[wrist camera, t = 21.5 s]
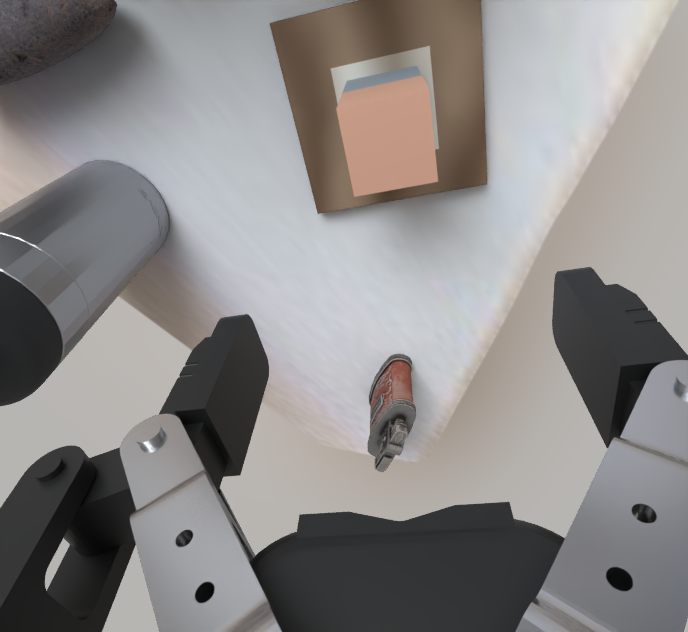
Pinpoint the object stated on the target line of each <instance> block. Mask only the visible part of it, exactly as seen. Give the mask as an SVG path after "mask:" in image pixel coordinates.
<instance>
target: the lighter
mask: <svg viewBox="0 0 688 632" xmlns="http://www.w3.org/2000/svg"><path fill="white" fill-rule="evenodd" d="M411 371H412V361H411V359H410V358H409V357H408V356H406V355H404V354H394V355H391V356H390V357H389V358H388V359H387V360H386V362H385V363H384V364H383V365H382V366H381V368H380V370H379V371H378V373H377V374H376V376H375V379H374V381H373V384H372V386H371V390H370V395H369V404H370V406H371V414H370V436H369V440H368V452H369V453H370V454H371V455H373V456H375V457H376V458H375V469H376V470H377V471H380V472H384V471H385V470H386V469H387V468H388V466H389V465H390V463H391V461H392V460H393V458H394V457H395V455H400V454H401V453H402V450H403V446H404V441H405V439H406V438H407V436H408V434H409V432H410V430H411V428H412V426H413V423H414V420H415V417H416V409H415V406H414V404H413V397H412V384H411Z"/></svg>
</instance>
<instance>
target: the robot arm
mask: <svg viewBox="0 0 688 632" xmlns="http://www.w3.org/2000/svg"><path fill="white" fill-rule="evenodd" d="M168 228H169V219H168V213H167V210H166V207H165V204H164V202H163V200H162V198H161V196H160V195H159V193H158V192H157V190H156V189H155V188H154V187H153V185H152V184H151V183H150V182H149V181H148V180H147V179H145V178H144V177H143V176H142V175H141V174H139V173H138V172H136V171H134V170H133V169H131V168H129V167H127V166H125V165H122V164H120V163H116V162H111V161H93V162H88V163H85V164H83V165H82V166H80V167H78V168H76V169H74V170H73V171H71V172H69V173H67V174H66V175H64V176H62V177H60V178H59V179H57V180H55V181H53V182H51V183H50V184H48V185H46V186H45V187H43V188H41V189H39V190H38V191H36V192H34V193H33V194H31V195H29V196H27V197H26V198H24V199H22V200H20V201H19V202H17V203H15V204H14V205H12V206H10V207H8V208H7V209H5V210H3V211H2V212H0V406H4V405H9V404H12V403H15V402H18V401H20V400H22V399H24V398H26V397H27V396H29V395H30V394H32V393H33V392H35V391H36V390H37V389H38V388H39V387H40V386H41V385H42V384H43V383H44V382H45V380H46V379H47V378H48V377H49V376H50V375H51V373H52V372H53V371H54V370H55V369H56V367H57V366H58V365H59V364H60V363H61V362H62V361H63V359H64V358H65V357H66V356H67V355H68V354H69V352H70V351H71V350H72V349H73V348H74V347H75V345H76V344H77V343H78V342H79V341H80V340H81V339H82V337H83V336H84V335H85V334H86V332H87V331H88V330H89V329H90V328H91V327H92V325H93V324H94V323H95V322H96V321H97V320H98V318H99V317H100V316H101V315H102V314H103V313H104V311H105V310H106V309H107V308H108V307H109V306H110V304H111V303H112V302H113V301H114V300H115V299H116V298H117V296H118V295H119V294H120V293H121V292H122V291H123V289H124V288H125V287H126V286H127V285H128V284H129V283H130V281H131V280H132V279H133V278H134V277H135V276H136V274H137V273H138V272H139V271H140V270H141V269H142V268H143V266H144V265H145V264H146V263H147V262H148V261H149V260H150V258H151V257H152V256H153V255H154V254H155V253H156V251H157V250H158V249H159V248H160V247H161V245H162V244H163V243H164V241H165V239H166V237H167V234H168ZM552 326H553V335H554V339H555V343H556V345H557V348H558V350H559V352H560V354H561V356H562V358H563V360H564V362H565V364H566V366H567V368H568V370H569V372H570V374H571V376H572V378H573V380H574V382H575V384H576V386H577V388H578V390H579V392H580V394H581V396H582V398H583V400H584V402H585V404H586V406H587V408H588V411H589V413H590V414H591V416H592V419H593V420H594V423H595V424H596V427H597V429H598V431H599V433H600V435H601V437H602V439H603V441H604V443H605V445H606V447H607V448H608V450H607V452H606V454H605V456H604V458H603V460H602V462H601V464H600V466H599V468H598V471H597V473H596V475H595V477H594V479H593V481H592V483H591V485H590V487H589V489H588V491H587V494H586V496H585V498H584V500H583V502H582V504H581V506H580V508H579V510H578V513H577V514H576V517H575V519H574V521H573V523H572V525H571V527H570V529H569V531H568V533H567V536H566V538H563V537H561V536H560V535H558V534H556V533H554V532H552V531H550V530H547V529H545V528H543V527H540V526H538V525H535V524H532V523H528V522H525V521H521V520H516V519H514V518H513V515H512V511H511V507H510V503H509V502H501V503H485V504H468V505H454V506H451V507H448V508H445V509H441V510H438V511H435V512H432V513H429V514H426V515H422V516H419V517H416V518H412V519H409V520H406V521H393V520H388V519H383V518H378V517H372V516H367V515H362V514H357V513H352V512H336V513H320V514H303V515H300V516H299V522H298V529H297V532H294V533H291V534H290V535H287V536H285V537H283V538H280V539H279V540H277V541H275V542H274V543H272V544H270V545H269V546H268V547H266V548H265V549H263V550H262V551H260V552H259V553H258V554H257V555H256V556H255V554H254V552H253V551H252V549H251V547H250V545H249V543H248V541H247V539H246V537H245V535H244V533H243V531H242V529H241V527H240V525H239V523H238V522H237V520H236V518H235V516H234V514H233V512H232V510H231V508H230V506H229V504H228V502H227V500H226V498H225V496H224V494H223V492H222V491H221V489H220V484H221V481H222V478H223V477H224V476H236V475H240V474H241V471H242V467H243V464H244V460H245V457H246V453H247V450H248V446H249V443H250V440H251V436H252V433H253V429H254V426H255V422H256V419H257V415H258V412H259V409H260V405H261V402H262V398H263V395H264V391H265V388H266V384H267V381H268V377H269V365H268V359H267V356H266V353H265V351H264V348H263V346H262V343H261V341H260V338H259V335H258V333H257V330H256V328H255V325H254V323H253V320H252V318H251V317H250V316H249V315H248V314H245V315H238V316H231V317H224V318H221V319H220V320H219V321H218V323H217V325H216V327H215V329H214V331H213V334H212V336H211V337H207V338H205V339H204V340H203V341H202V342H201V343H200V344H198V345H197V346H196V347H195V348H194V349H193V350H192V352H191V354H190V356H189V358H188V360H187V362H186V366H185V367H183V370H182V371H181V373H180V378H178V379H177V381H176V383H175V385H174V386H173V388H172V390H171V392H170V394H169V396H168V398H167V400H166V402H165V404H164V405H163V407H162V410H161V411H160V413H159V415H155V416H152V417H150V418H148V419H146V420H144V421H143V422H141V423H139V424H138V425H136V426H135V427H134V428H133V429H132V430H130V432H129V433H128V434H127V435H126V436H125V438H124V439H123V441H122V444H121V446H120V448H117V449H114V450H111V451H109V452H106V453H103V454H100V455H97V456H95V457H92V458H88V456H87V455H86V454H85V453H84V451H83V450H82V449H81V448H80V447H77V446H65V447H61V448H58V449H55V450H53V451H51V452H49V453H47V454H46V455H44V456H43V457H41V458H40V459H38V460H37V461H36V462H35V463H34V464H32V465H31V466H30V468H28V470H27V471H26V472H25V473H24V475H23V476H22V477H21V479H20V480H19V482H18V483H17V485H16V486H15V488H14V489H13V491H12V492H11V494H10V495H9V497H8V498H7V499H6V501H5V502H4V504H3V505H2V507H1V508H0V632H102V629H103V627H104V625H105V622H106V619H107V617H108V614H109V611H110V609H111V607H112V604H113V601H114V599H115V596H116V594H117V591H118V588H119V586H120V583H121V580H122V578H123V576H124V573H125V570H126V568H127V565H128V563H129V560H130V558H131V555H132V552H133V550H134V547H135V545H136V546H137V550H138V554H139V557H140V561H141V565H142V568H143V572H144V576H145V580H146V583H147V587H148V591H149V594H150V598H151V602H152V606H153V610H154V613H155V616H156V621H157V624H158V628H159V631H160V632H684V629H685V625H686V622H687V618H688V355H687V354H686V353H685V352H684V351H683V349H682V348H681V347H680V346H679V344H678V343H677V342H676V341H675V340H674V339H673V337H672V336H671V335H670V334H669V333H668V332H667V330H666V329H665V328H664V327H663V325H662V324H661V323H660V322H657V319H656V317H655V316H654V315H653V314H652V312H651V311H648V308H647V307H646V305H645V304H644V303H643V302H642V301H641V299H640V298H639V297H638V296H637V295H636V294H635V293H633V292H631V291H629V290H627V289H626V288H624V287H622V286H620V285H618V284H613V285H605V284H604V283H603V281H602V280H601V279H600V278H599V276H598V275H597V274H596V272H595V271H594V270H593V269H592V268H591V267H586V268H579V269H573V270H565V271H558V272H557V273H556V275H555V282H554V301H553V319H552ZM63 538H64V539H65V540H66V541H67V542H68V543H69V544H70V546H69V548H68V550H67V552H66V554H65V556H64V558H63V560H62V562H61V564H60V566H59V568H58V570H57V572H56V574H55V576H54V578H53V580H52V582H51V584H50V586H49V588H48V589H47V591H46V589H45V574H46V571H47V568H48V566H49V564H50V562H51V560H52V558H53V556H54V554H55V552H56V551H57V549H58V547H59V545H60V543H61V541H62V539H63Z"/></svg>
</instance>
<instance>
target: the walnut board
mask: <svg viewBox="0 0 688 632" xmlns="http://www.w3.org/2000/svg"><path fill="white" fill-rule="evenodd" d="M270 27H271V30H272V34H273V38H274V42H275V46H276V50H277V54H278V58H279V62H280V66H281V70H282V74H283V78H284V82H285V86H286V90H287V94H288V98H289V102H290V105H291V109H292V113H293V117H294V121H295V125H296V129H297V133H298V137H299V141H300V145H301V149H302V153H303V157H304V161H305V165H306V169H307V173H308V176H309V180H310V184H311V188H312V192H313V196H314V200H315V204H316V208H317V212H318V214H319V213H325V212H331V211H336V210H342V209H348V208H353V207H359V206H365V205H371V204H376V203H382V202H388V201H394V200H399V199H405V198H411V197H416V196H422V195H428V194H434V193H439V192H445V191H451V190H456V189H462V188H468V187H474V186H479V185H485V184H487V166H486V137H485V109H484V80H483V52H482V23H481V0H360V1H356V2H352V3H348V4H344V5H340V6H336V7H332V8H328V9H324V10H320V11H316V12H312V13H308V14H304V15H301V16H297V17H293V18H289V19H285V20H281V21H277V22H273V23H270ZM413 66H417V67H418V69H419V71H420V74H421V75H422V76H423V78H424V80H425V82H426V84H427V86H428V88H429V94H430V104H431V114H432V124H433V134H434V145H435V155H436V165H437V175H438V182H434V183H428V184H423V185H417V186H412V187H406V188H401V189H395V190H390V191H384V192H379V193H373V194H368V195H362V196H357V197H354V193H353V188H352V184H351V179H350V174H349V169H348V164H347V159H346V154H345V149H344V145H343V140H342V135H341V130H340V125H339V120H338V115H337V110H336V109H337V106H338V104H339V101H340V98H341V96H342V93H343V90H344V87H345V85H346V82H347V81H348V80H353V79H357V78H362V77H366V76H371V75H376V74H380V73H385V72H390V71H394V70H399V69H403V68H408V67H413Z"/></svg>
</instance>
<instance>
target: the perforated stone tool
mask: <svg viewBox="0 0 688 632" xmlns="http://www.w3.org/2000/svg"><path fill="white" fill-rule="evenodd" d="M116 7H117V4H116V2H115V1H114V0H0V85H4V84H7V83H10V82H13V81H16V80H19V79H22V78H25V77H27V76H30V75H32V74H35V73H37V72H40V71H42V70H44V69H46V68H48V67H50V66H52V65H54V64H56V63H58V62H60V61H62V60H64V59H66V58H67V57H69V56H70V55H72V54H74V53H76V52H77V51H79V50H81V49H82V48H84V47H85V46H87V45H88V44H90V43H91V42H92V41H93V40H94V39H95V38H97V37H98V36H99V35H100V34H101V33H102V32H103V31H104V29H105V28H106V27H107V26H108V24H109V23H110V22H111V20H112V18H113V16H114V14H115V12H116Z"/></svg>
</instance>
